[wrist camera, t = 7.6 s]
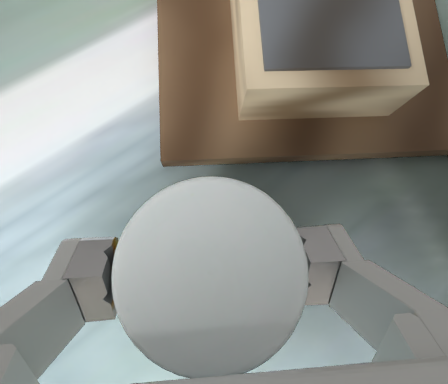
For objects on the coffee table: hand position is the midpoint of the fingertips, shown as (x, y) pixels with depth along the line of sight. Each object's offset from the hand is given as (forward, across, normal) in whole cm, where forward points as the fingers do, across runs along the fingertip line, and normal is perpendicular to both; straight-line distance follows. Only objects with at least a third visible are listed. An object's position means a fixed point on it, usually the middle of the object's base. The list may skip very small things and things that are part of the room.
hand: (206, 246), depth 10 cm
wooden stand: (+12, -6, -3) cm, 13 cm away
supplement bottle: (+4, 0, +5) cm, 6 cm away
